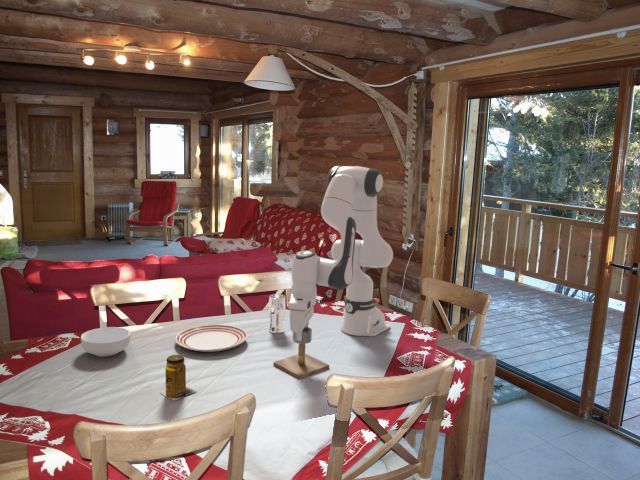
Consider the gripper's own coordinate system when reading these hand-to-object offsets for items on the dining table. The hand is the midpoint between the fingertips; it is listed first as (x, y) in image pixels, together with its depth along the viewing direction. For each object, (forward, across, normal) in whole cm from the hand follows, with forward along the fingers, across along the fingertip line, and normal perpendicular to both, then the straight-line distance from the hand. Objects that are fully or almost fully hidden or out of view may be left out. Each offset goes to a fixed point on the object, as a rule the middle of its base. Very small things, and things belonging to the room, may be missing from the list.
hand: (302, 335), depth 189 cm
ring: (+2, 0, 0) cm, 2 cm away
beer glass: (+12, -31, -18) cm, 38 cm away
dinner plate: (+12, -11, -39) cm, 42 cm away
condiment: (+12, +30, -32) cm, 45 cm away
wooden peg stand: (+12, 0, 0) cm, 12 cm away
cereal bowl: (+12, +9, -71) cm, 72 cm away
